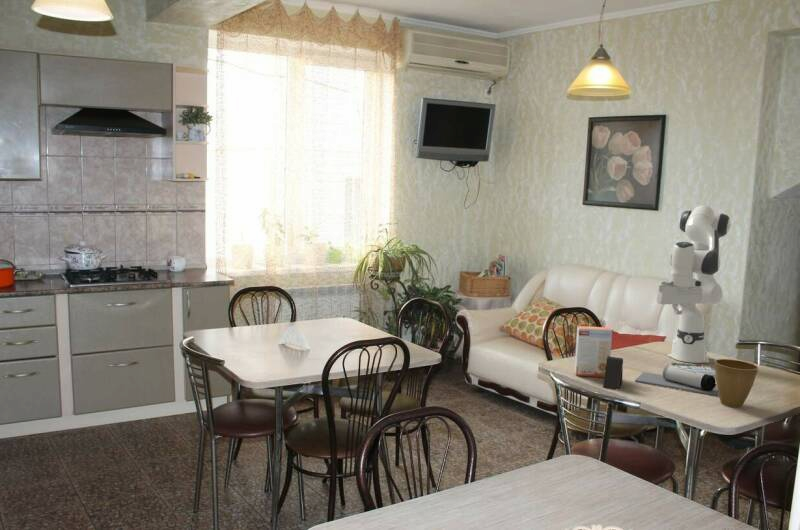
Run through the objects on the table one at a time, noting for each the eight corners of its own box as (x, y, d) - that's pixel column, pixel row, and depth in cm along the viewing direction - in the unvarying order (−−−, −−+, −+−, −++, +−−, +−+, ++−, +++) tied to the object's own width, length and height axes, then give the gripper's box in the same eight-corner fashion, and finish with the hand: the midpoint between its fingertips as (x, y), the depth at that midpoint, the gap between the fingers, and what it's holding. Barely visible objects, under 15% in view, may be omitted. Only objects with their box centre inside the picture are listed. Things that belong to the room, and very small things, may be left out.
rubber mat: (643, 373, 309) (643, 371, 309) (722, 387, 293) (722, 385, 293) (635, 381, 295) (635, 379, 295) (717, 396, 279) (717, 394, 279)
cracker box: (606, 374, 305) (610, 327, 302) (609, 378, 299) (613, 330, 296) (573, 372, 306) (577, 325, 304) (575, 375, 300) (579, 327, 298)
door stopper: (607, 382, 292) (609, 354, 291) (622, 384, 290) (624, 356, 288) (602, 387, 285) (605, 358, 283) (618, 390, 282) (620, 361, 280)
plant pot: (717, 409, 263) (721, 367, 261) (706, 397, 277) (710, 357, 276) (759, 412, 261) (764, 370, 259) (745, 400, 275) (750, 360, 274)
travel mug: (667, 381, 300) (713, 393, 284) (660, 376, 296) (706, 388, 280) (672, 367, 301) (718, 378, 285) (665, 362, 297) (711, 374, 281)
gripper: (664, 282, 285) (661, 316, 287) (706, 282, 291) (703, 315, 293) (654, 280, 291) (652, 313, 293) (695, 280, 297) (692, 312, 299)
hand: (678, 314), depth 293 cm, fingers closed
